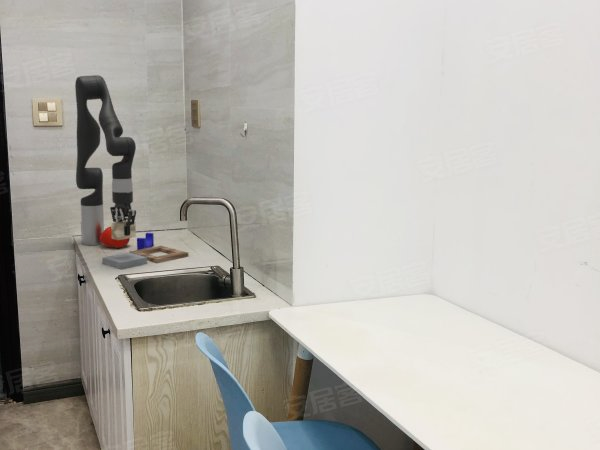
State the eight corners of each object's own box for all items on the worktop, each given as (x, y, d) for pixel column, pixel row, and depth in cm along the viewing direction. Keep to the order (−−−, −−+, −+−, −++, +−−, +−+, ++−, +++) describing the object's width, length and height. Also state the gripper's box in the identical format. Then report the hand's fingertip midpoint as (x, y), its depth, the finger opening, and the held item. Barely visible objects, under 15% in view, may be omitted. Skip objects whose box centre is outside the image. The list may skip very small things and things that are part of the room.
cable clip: (143, 246, 272) (143, 232, 271) (153, 246, 271) (153, 233, 270) (133, 252, 260) (133, 238, 259) (144, 252, 260) (143, 238, 258)
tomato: (98, 244, 271) (97, 225, 270) (127, 242, 276) (127, 223, 275) (102, 251, 260) (101, 231, 258) (132, 248, 265) (132, 229, 264)
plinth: (102, 263, 240) (102, 257, 240) (128, 258, 249) (128, 252, 249) (120, 269, 233) (120, 262, 232) (147, 263, 242) (147, 257, 241)
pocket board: (129, 255, 254) (129, 251, 254) (160, 249, 266) (160, 245, 266) (156, 263, 243) (156, 259, 242) (188, 256, 255) (188, 252, 254)
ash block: (111, 238, 237) (111, 223, 236) (129, 235, 243) (129, 220, 242) (117, 240, 234) (117, 224, 233) (135, 237, 241) (135, 221, 239)
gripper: (103, 189, 237) (104, 233, 240) (125, 193, 228) (126, 238, 231) (119, 187, 243) (121, 230, 246) (142, 191, 234) (143, 236, 237)
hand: (123, 234), depth 239 cm, fingers closed on ash block, 4 cm apart
